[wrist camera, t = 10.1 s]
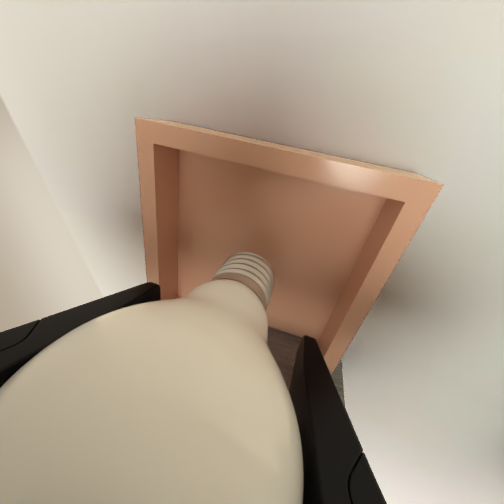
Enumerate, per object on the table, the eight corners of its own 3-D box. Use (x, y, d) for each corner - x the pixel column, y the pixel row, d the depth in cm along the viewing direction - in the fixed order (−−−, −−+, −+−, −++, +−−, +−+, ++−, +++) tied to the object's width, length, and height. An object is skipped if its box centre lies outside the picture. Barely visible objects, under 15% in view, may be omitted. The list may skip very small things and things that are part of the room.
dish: (416, 173, 10) (443, 184, 7) (325, 349, 15) (325, 384, 13) (170, 120, 11) (134, 117, 9) (171, 296, 17) (149, 319, 15)
